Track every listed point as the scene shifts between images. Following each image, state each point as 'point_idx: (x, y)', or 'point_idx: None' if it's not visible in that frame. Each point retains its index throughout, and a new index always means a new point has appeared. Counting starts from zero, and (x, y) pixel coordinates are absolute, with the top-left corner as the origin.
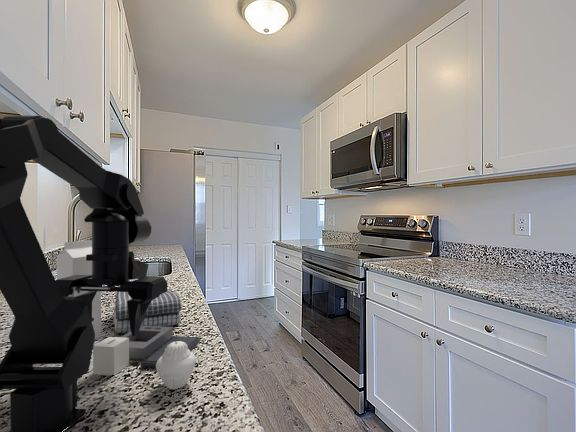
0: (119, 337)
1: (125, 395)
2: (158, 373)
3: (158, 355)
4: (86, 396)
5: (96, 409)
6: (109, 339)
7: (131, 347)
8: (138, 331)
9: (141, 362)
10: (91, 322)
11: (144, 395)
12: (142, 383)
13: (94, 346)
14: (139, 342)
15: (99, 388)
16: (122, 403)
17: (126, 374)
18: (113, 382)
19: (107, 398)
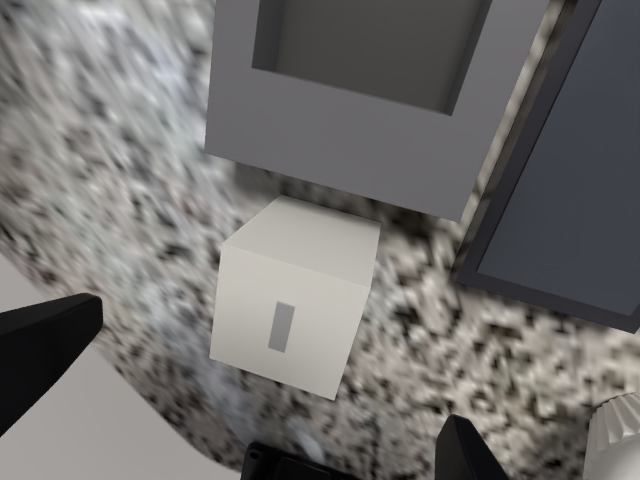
0: (299, 269)
1: None
2: (583, 478)
3: (544, 226)
4: (321, 406)
5: (382, 468)
6: (249, 289)
7: (372, 195)
8: (478, 436)
9: (457, 282)
10: (38, 328)
11: (511, 450)
12: (488, 385)
13: (219, 360)
14: (401, 120)
15: None
16: None
17: (401, 309)
18: (372, 353)
19: (391, 432)
